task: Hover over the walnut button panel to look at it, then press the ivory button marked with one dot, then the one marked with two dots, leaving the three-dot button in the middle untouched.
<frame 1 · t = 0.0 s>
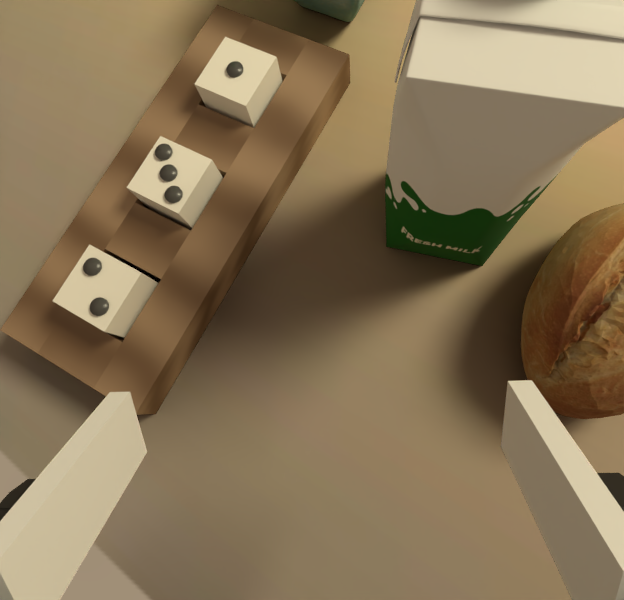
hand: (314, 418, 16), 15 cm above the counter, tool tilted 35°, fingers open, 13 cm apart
button three: (178, 185, 32), point 3 cm above the counter, slide at 0.0 cm
bread roll: (585, 314, 30), on the counter
button panel: (195, 205, 35), on the counter
milk carton: (441, 214, 33), on the counter
button two: (110, 293, 30), point 3 cm above the counter, slide at 0.0 cm
button one: (241, 86, 33), point 3 cm above the counter, slide at 0.0 cm
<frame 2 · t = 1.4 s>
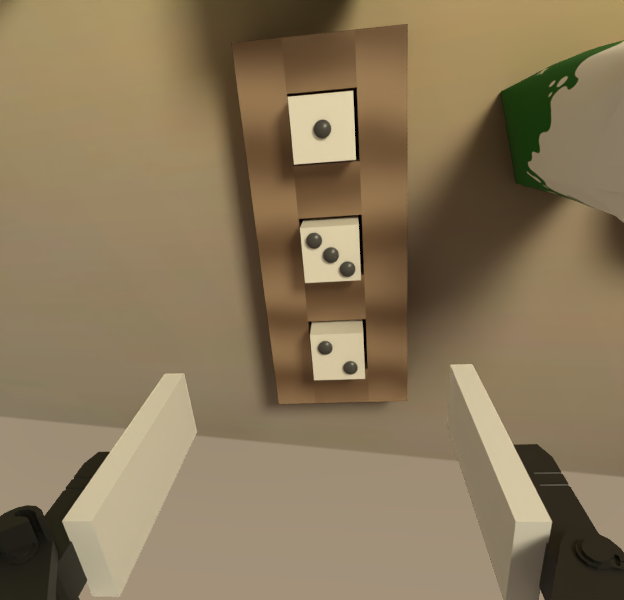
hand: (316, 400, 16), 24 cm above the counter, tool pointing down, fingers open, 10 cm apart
button three: (331, 248, 35), point 3 cm above the counter, slide at 0.0 cm
button panel: (332, 237, 38), on the counter
milk carton: (553, 124, 34), on the counter
button two: (338, 347, 39), point 3 cm above the counter, slide at 0.0 cm
button one: (323, 128, 32), point 3 cm above the counter, slide at 0.0 cm
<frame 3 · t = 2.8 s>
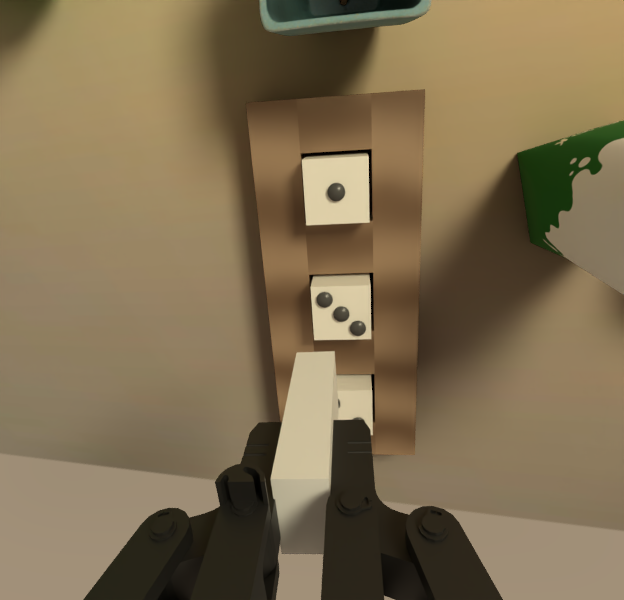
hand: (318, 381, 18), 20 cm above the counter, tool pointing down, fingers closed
button three: (341, 305, 35), point 3 cm above the counter, slide at 0.0 cm
button panel: (342, 290, 38), on the counter
milk carton: (569, 186, 33), on the counter
button two: (345, 401, 38), point 3 cm above the counter, slide at 0.0 cm
button one: (337, 188, 31), point 3 cm above the counter, slide at 0.0 cm
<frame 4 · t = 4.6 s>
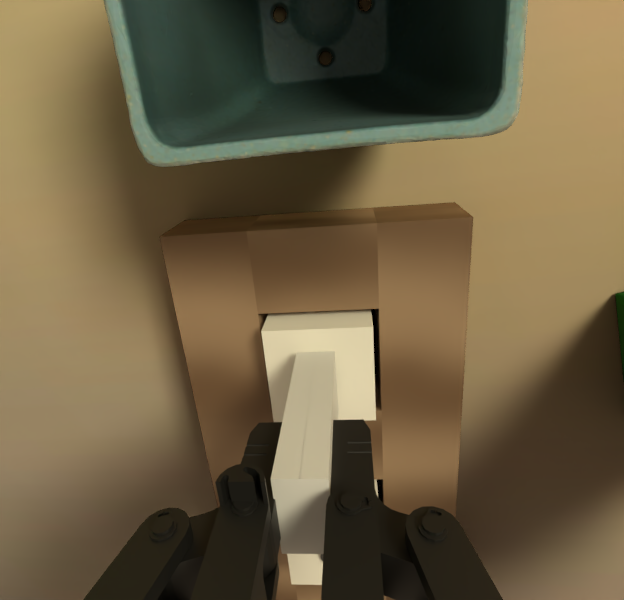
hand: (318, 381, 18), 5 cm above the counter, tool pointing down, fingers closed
button three: (334, 523, 22), point 3 cm above the counter, slide at 0.0 cm
button panel: (335, 473, 25), on the counter
flower pot: (324, 14, 17), on the counter
button one: (322, 357, 20), point 2 cm above the counter, slide at 0.9 cm, touching gripper
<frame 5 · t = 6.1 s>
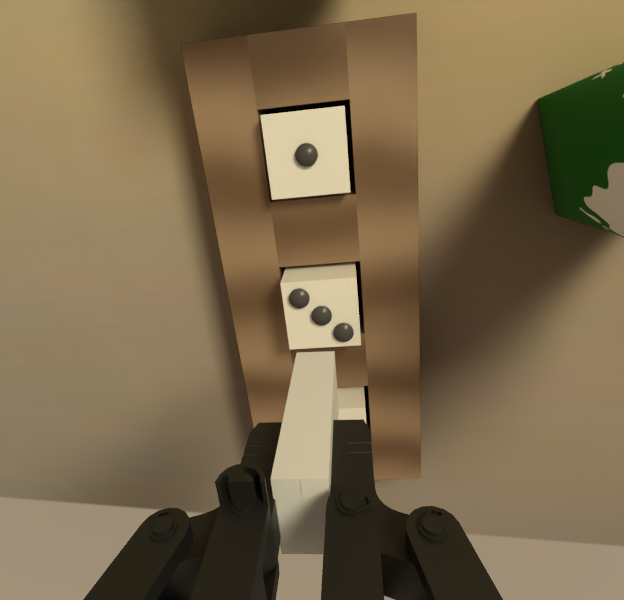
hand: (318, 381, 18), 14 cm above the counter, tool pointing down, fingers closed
button three: (322, 303, 28), point 3 cm above the counter, slide at 0.0 cm
button panel: (324, 284, 31), on the counter
milk carton: (604, 139, 26), on the counter
button two: (334, 420, 31), point 3 cm above the counter, slide at 0.0 cm
button one: (308, 152, 25), point 2 cm above the counter, slide at 1.1 cm
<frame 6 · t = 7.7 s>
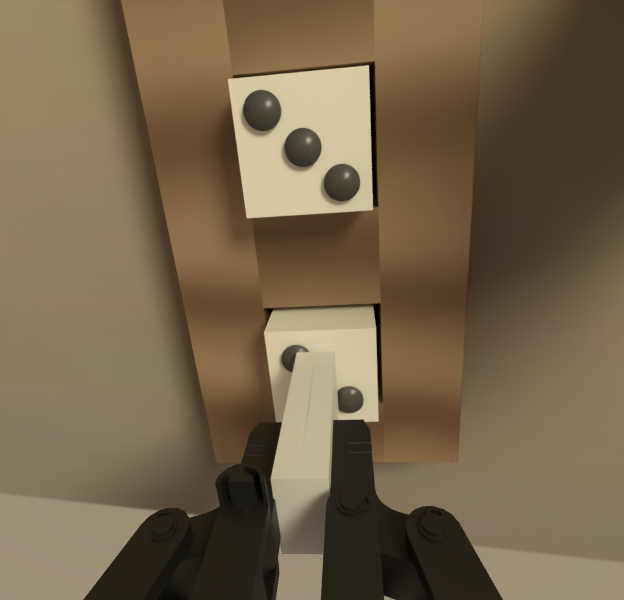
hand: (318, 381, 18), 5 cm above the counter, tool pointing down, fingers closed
button three: (307, 144, 16), point 3 cm above the counter, slide at 0.0 cm
button panel: (314, 140, 19), on the counter
button two: (325, 358, 20), point 3 cm above the counter, slide at 0.3 cm, touching gripper
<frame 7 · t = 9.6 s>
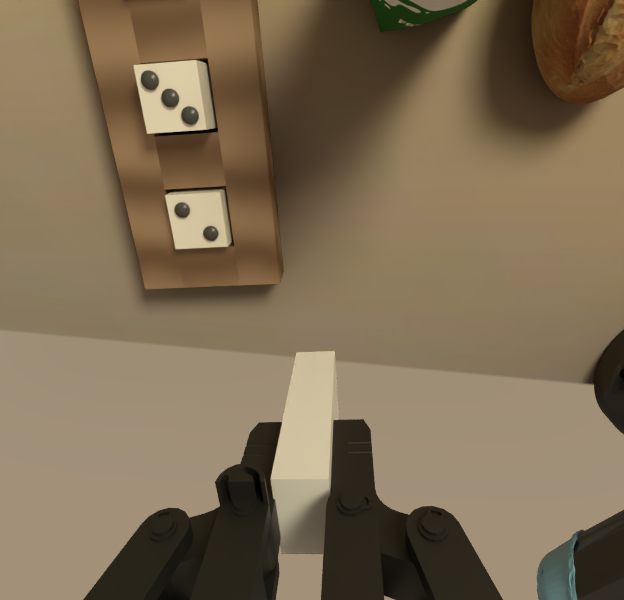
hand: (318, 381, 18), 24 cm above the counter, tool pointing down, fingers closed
button three: (178, 98, 32), point 3 cm above the counter, slide at 0.0 cm
button panel: (192, 99, 35), on the counter
button two: (202, 216, 37), point 2 cm above the counter, slide at 1.1 cm
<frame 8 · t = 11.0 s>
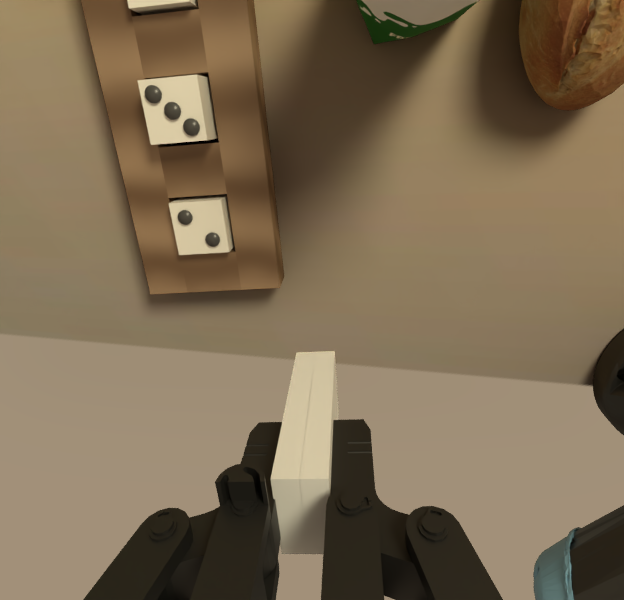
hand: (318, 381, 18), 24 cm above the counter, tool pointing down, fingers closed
button three: (180, 111, 34), point 3 cm above the counter, slide at 0.0 cm
button panel: (194, 111, 37), on the counter
button two: (205, 223, 38), point 2 cm above the counter, slide at 1.1 cm
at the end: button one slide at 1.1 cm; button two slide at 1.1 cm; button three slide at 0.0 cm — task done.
